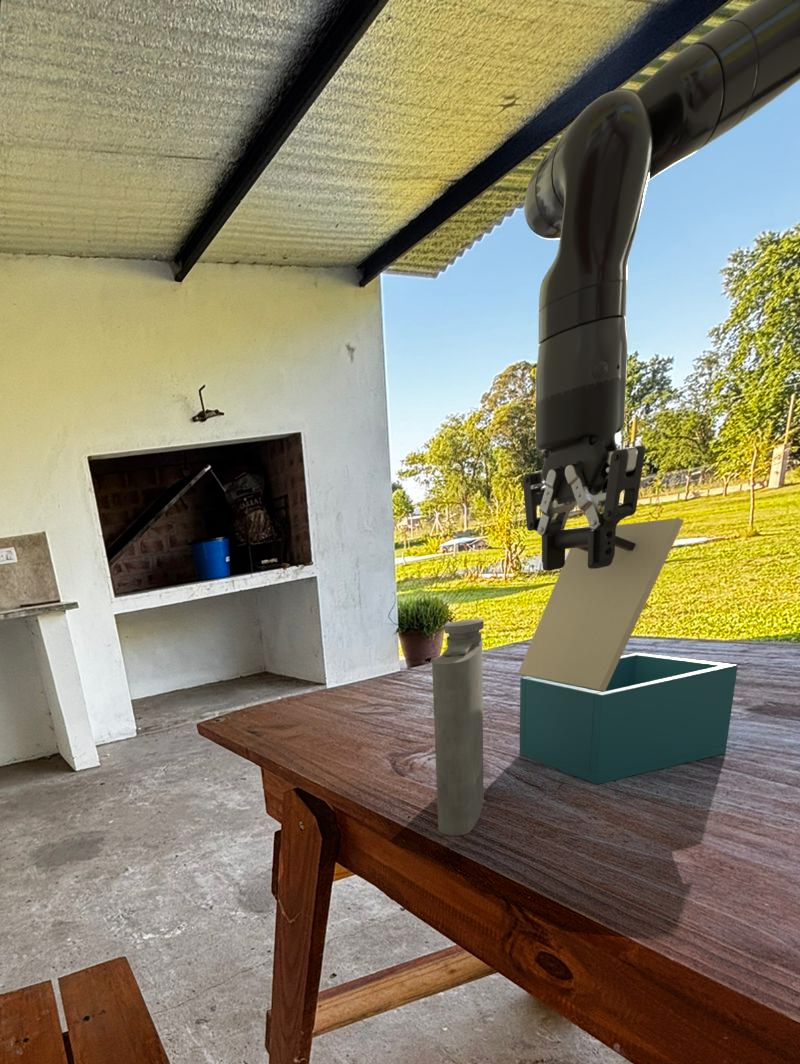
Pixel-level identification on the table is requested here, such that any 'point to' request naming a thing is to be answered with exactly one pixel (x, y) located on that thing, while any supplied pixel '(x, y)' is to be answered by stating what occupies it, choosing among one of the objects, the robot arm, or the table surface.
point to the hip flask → (459, 728)
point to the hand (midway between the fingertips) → (575, 567)
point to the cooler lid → (597, 604)
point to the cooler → (629, 718)
